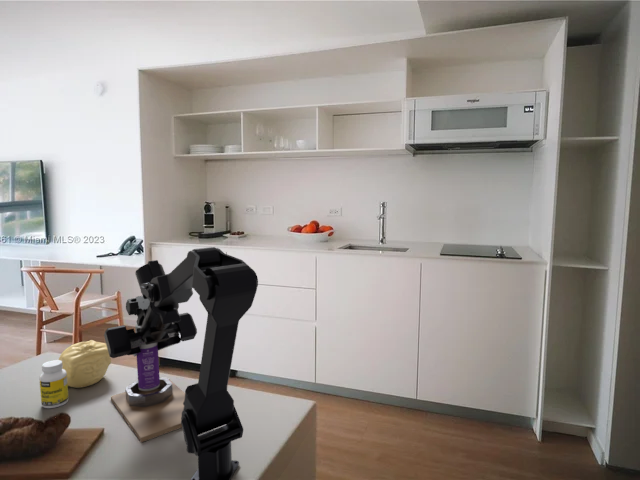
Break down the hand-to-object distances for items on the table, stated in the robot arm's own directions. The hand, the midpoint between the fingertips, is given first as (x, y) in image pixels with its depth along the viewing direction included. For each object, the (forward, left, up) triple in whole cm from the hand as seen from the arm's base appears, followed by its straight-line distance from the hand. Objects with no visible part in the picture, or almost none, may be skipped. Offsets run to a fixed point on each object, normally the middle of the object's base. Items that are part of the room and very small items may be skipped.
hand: (145, 351), depth 101 cm
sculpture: (+5, +21, -12) cm, 25 cm away
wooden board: (-4, -5, -12) cm, 13 cm away
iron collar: (-1, -1, -12) cm, 12 cm away
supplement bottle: (-6, +20, -12) cm, 24 cm away
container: (-1, -1, -8) cm, 8 cm away
